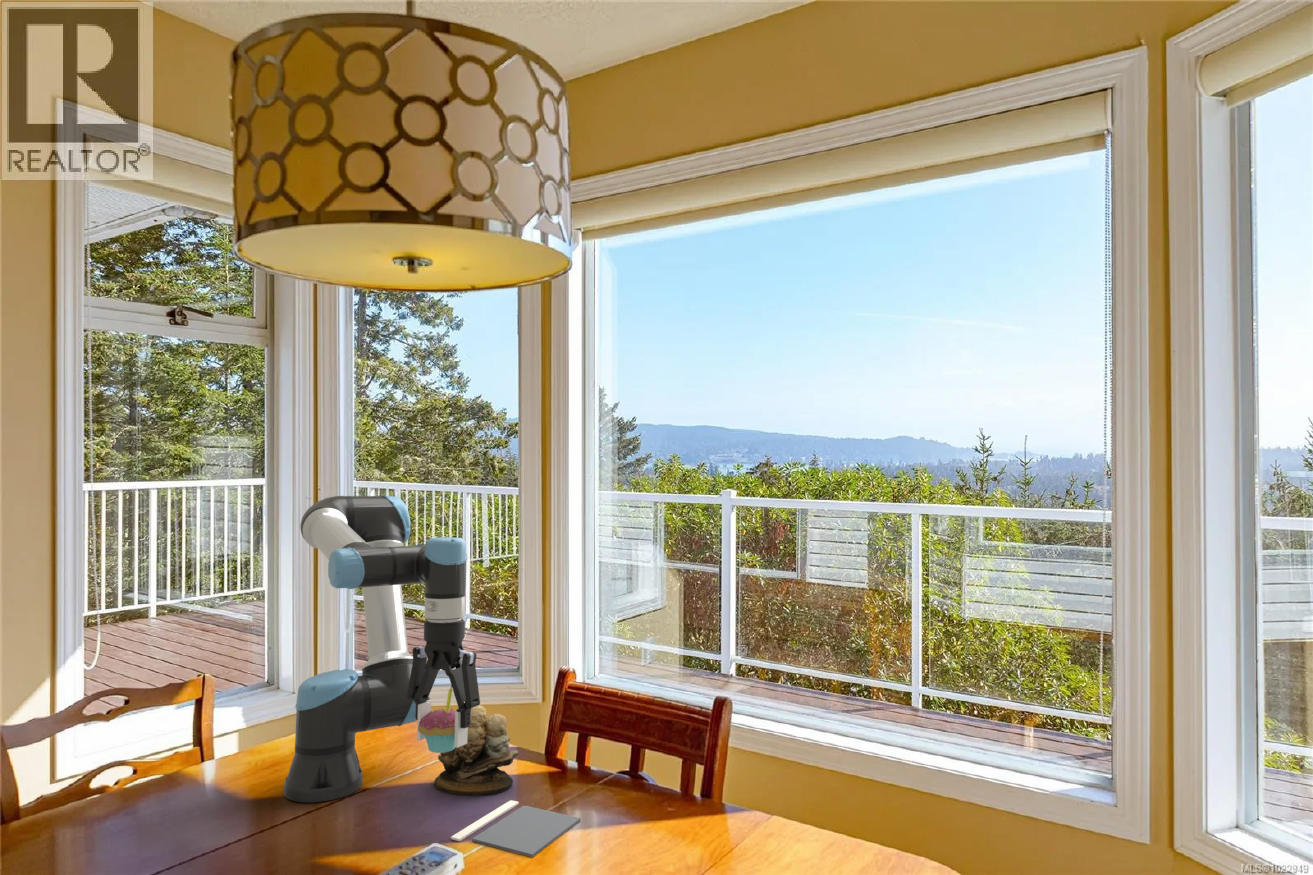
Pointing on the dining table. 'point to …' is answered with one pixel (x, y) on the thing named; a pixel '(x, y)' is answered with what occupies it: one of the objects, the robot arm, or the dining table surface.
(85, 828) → the dining table surface
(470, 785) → the owl figurine
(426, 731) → the cupcake
